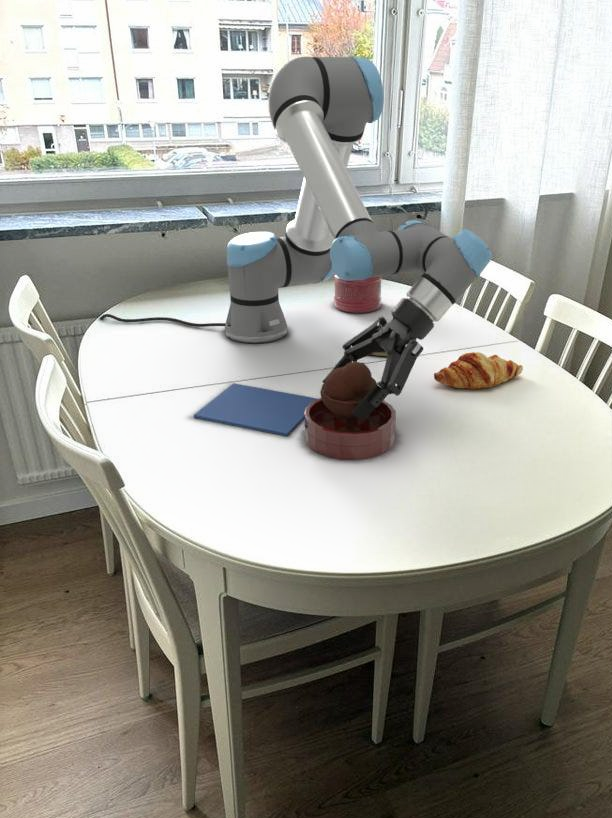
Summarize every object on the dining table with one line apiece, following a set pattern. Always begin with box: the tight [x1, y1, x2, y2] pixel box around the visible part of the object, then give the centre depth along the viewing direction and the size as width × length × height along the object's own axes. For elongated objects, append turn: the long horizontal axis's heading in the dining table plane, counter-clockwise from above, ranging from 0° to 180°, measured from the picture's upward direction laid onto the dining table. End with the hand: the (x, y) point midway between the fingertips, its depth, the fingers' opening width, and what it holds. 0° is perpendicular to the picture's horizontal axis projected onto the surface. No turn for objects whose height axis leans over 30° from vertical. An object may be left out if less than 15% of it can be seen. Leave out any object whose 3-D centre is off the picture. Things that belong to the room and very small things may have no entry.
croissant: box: [433, 351, 524, 390], centre depth 157 cm, size 21×10×8 cm, turn 110°
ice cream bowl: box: [319, 361, 378, 432], centre depth 132 cm, size 11×11×15 cm
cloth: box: [193, 383, 318, 437], centre depth 145 cm, size 20×16×1 cm
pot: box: [304, 397, 397, 461], centre depth 134 cm, size 17×17×5 cm
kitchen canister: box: [333, 274, 383, 314], centre depth 195 cm, size 13×13×18 cm
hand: (341, 401), depth 131 cm, fingers open, 13 cm apart
